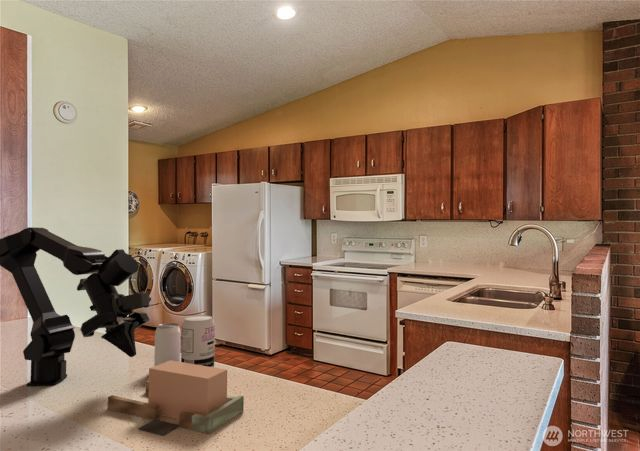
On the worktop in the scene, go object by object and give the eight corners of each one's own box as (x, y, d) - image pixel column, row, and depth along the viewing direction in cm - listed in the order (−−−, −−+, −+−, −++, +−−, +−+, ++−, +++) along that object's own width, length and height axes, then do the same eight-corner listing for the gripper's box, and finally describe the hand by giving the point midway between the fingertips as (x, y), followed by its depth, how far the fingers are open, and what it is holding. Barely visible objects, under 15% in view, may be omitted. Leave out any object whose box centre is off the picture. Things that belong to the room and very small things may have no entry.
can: (171, 375, 107) (172, 328, 107) (149, 373, 108) (149, 327, 109) (184, 367, 113) (185, 323, 114) (163, 365, 115) (164, 322, 115)
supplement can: (185, 372, 110) (185, 315, 110) (216, 371, 110) (217, 314, 111) (177, 382, 101) (178, 321, 102) (211, 382, 102) (212, 321, 103)
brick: (148, 412, 85) (149, 368, 85) (169, 402, 90) (170, 360, 90) (207, 426, 79) (208, 378, 79) (226, 414, 84) (227, 369, 84)
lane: (90, 416, 82) (90, 401, 82) (161, 385, 100) (162, 372, 100) (194, 443, 72) (194, 426, 72) (254, 403, 89) (254, 389, 89)
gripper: (111, 274, 88) (144, 339, 85) (153, 280, 106) (181, 334, 103) (66, 303, 87) (96, 369, 84) (115, 304, 106) (142, 358, 102)
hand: (133, 356), depth 93 cm, fingers closed
